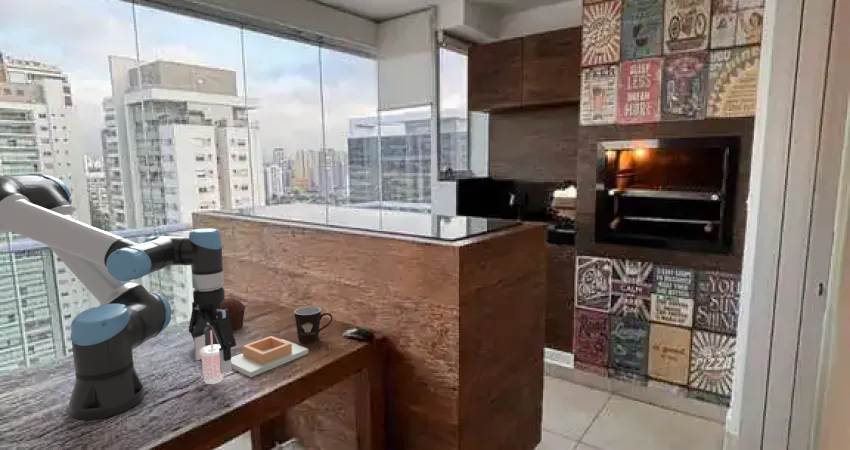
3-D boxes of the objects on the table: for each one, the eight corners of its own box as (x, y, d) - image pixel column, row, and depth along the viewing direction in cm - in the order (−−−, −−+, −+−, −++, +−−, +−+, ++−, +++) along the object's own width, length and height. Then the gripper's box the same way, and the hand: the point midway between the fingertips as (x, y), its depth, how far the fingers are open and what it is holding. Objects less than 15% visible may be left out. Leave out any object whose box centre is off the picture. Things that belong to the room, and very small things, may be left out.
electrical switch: (223, 348, 147) (218, 321, 145) (207, 356, 143) (203, 328, 141) (205, 342, 152) (201, 316, 150) (190, 349, 148) (186, 322, 146)
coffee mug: (290, 343, 152) (289, 313, 150) (303, 333, 160) (302, 305, 159) (322, 346, 149) (322, 316, 148) (334, 336, 157) (333, 308, 156)
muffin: (217, 321, 171) (215, 295, 169) (248, 320, 173) (247, 294, 171) (208, 333, 159) (206, 305, 158) (242, 331, 161) (241, 304, 160)
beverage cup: (226, 373, 130) (224, 325, 128) (225, 383, 124) (223, 333, 122) (202, 377, 128) (199, 328, 126) (200, 387, 122) (197, 336, 120)
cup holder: (250, 377, 128) (250, 361, 127) (224, 364, 135) (224, 350, 135) (308, 353, 144) (307, 339, 143) (282, 343, 151) (281, 330, 151)
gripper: (248, 292, 118) (251, 372, 121) (198, 277, 132) (203, 349, 136) (220, 299, 112) (224, 383, 115) (171, 282, 126) (176, 357, 130)
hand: (213, 364), depth 125 cm, fingers open, 12 cm apart
